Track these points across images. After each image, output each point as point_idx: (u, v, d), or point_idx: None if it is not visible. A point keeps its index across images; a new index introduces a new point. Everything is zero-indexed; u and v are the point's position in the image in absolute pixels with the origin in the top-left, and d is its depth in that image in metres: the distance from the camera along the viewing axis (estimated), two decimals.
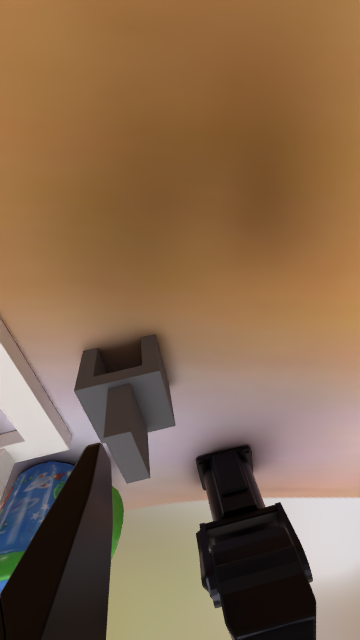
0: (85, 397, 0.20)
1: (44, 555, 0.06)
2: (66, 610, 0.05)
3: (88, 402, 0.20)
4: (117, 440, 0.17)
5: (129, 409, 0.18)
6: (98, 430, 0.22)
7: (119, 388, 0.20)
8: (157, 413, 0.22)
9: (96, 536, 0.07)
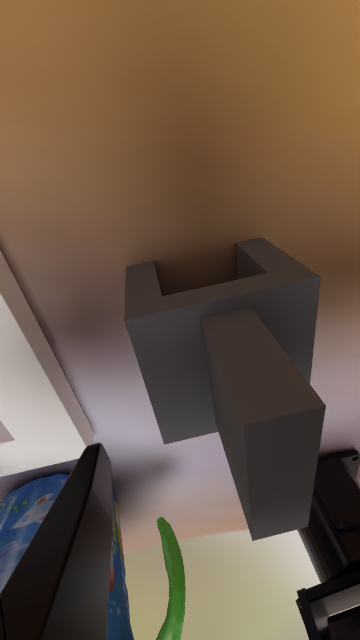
0: (147, 337, 0.09)
1: (44, 555, 0.06)
2: (66, 610, 0.05)
3: (152, 352, 0.09)
4: (277, 434, 0.06)
5: (282, 353, 0.07)
6: (161, 417, 0.11)
7: (229, 315, 0.09)
8: None
9: (96, 536, 0.07)
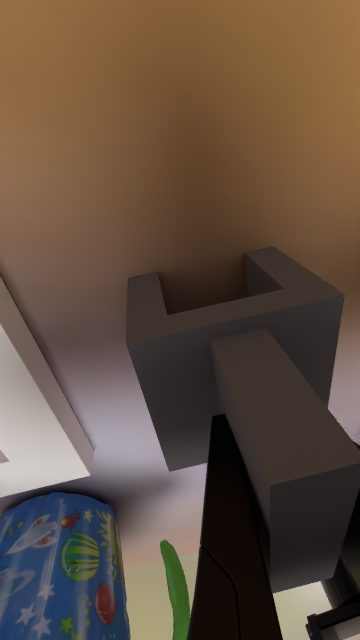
0: (151, 361, 0.08)
1: (223, 510, 0.06)
2: None
3: (156, 377, 0.08)
4: (307, 492, 0.05)
5: (308, 387, 0.06)
6: (166, 444, 0.10)
7: (242, 338, 0.08)
8: None
9: None
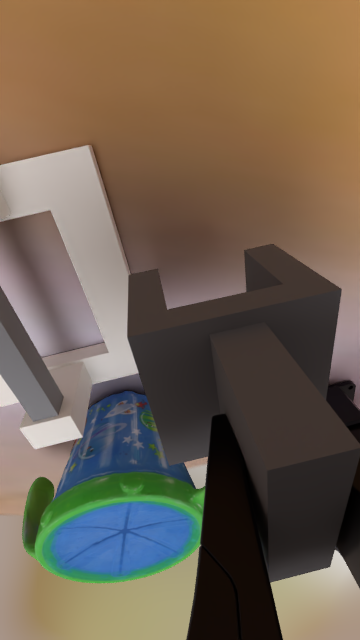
0: (151, 355, 0.08)
1: (223, 511, 0.06)
2: None
3: (157, 370, 0.08)
4: (304, 478, 0.05)
5: (305, 378, 0.06)
6: (167, 438, 0.10)
7: (241, 332, 0.08)
8: None
9: None
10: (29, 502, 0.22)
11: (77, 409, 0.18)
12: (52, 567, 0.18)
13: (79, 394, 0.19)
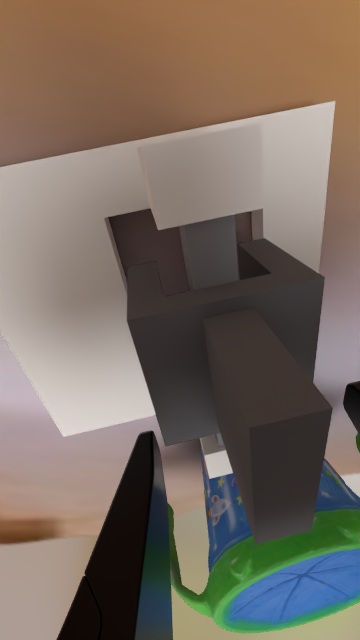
0: (149, 338, 0.09)
1: (119, 537, 0.06)
2: (149, 589, 0.05)
3: (154, 352, 0.09)
4: (282, 437, 0.06)
5: (287, 354, 0.07)
6: (163, 418, 0.11)
7: (232, 316, 0.09)
8: None
9: (160, 520, 0.07)
10: None
11: None
12: (223, 620, 0.15)
13: None
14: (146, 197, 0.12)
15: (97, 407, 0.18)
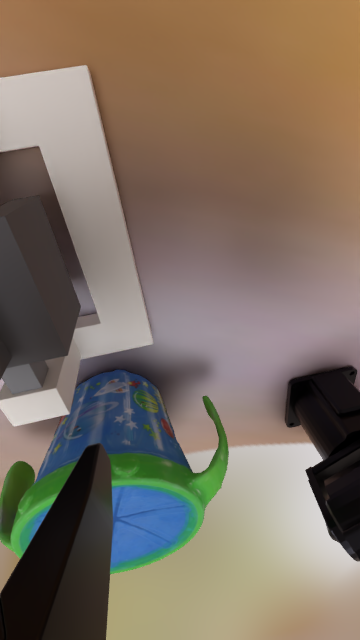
0: None
1: (44, 555, 0.06)
2: (66, 610, 0.05)
3: None
4: None
5: None
6: None
7: None
8: (25, 325, 0.12)
9: (96, 536, 0.07)
10: (6, 488, 0.19)
11: (64, 382, 0.16)
12: None
13: (66, 366, 0.17)
14: None
15: None
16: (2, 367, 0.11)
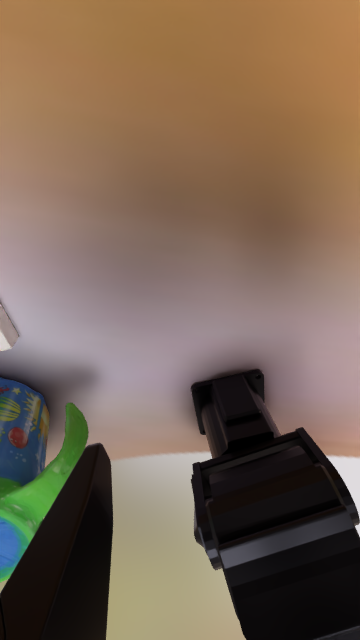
0: None
1: (44, 555, 0.06)
2: (66, 610, 0.05)
3: None
4: None
5: None
6: None
7: None
8: None
9: (96, 536, 0.07)
10: None
11: None
12: None
13: None
14: None
15: None
16: None
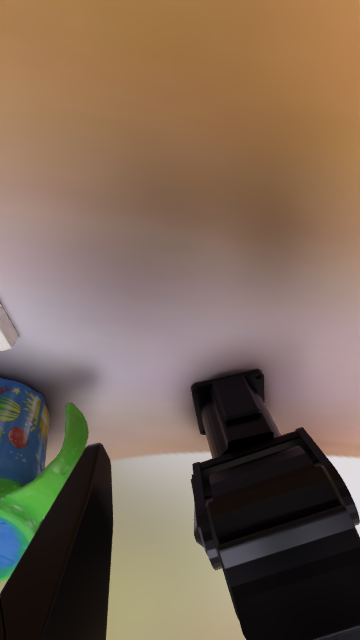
0: None
1: (44, 555, 0.06)
2: (66, 610, 0.05)
3: None
4: None
5: None
6: None
7: None
8: None
9: (96, 536, 0.07)
10: None
11: None
12: None
13: None
14: None
15: None
16: None
